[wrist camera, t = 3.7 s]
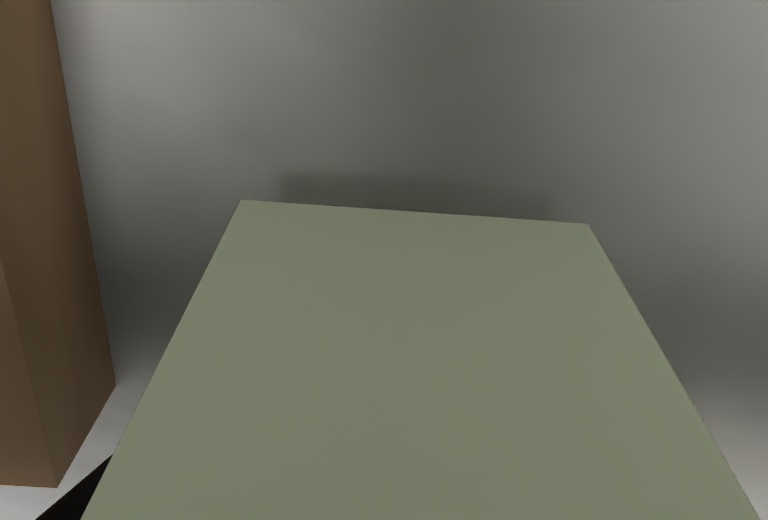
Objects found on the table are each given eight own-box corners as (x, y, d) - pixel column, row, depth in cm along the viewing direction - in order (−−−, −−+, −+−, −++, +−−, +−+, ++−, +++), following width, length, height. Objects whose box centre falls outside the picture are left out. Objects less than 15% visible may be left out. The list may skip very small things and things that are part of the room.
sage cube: (250, 455, 12) (136, 898, 7) (241, 199, 9) (50, 581, 4) (527, 472, 12) (631, 923, 7) (588, 223, 10) (821, 624, 4)
